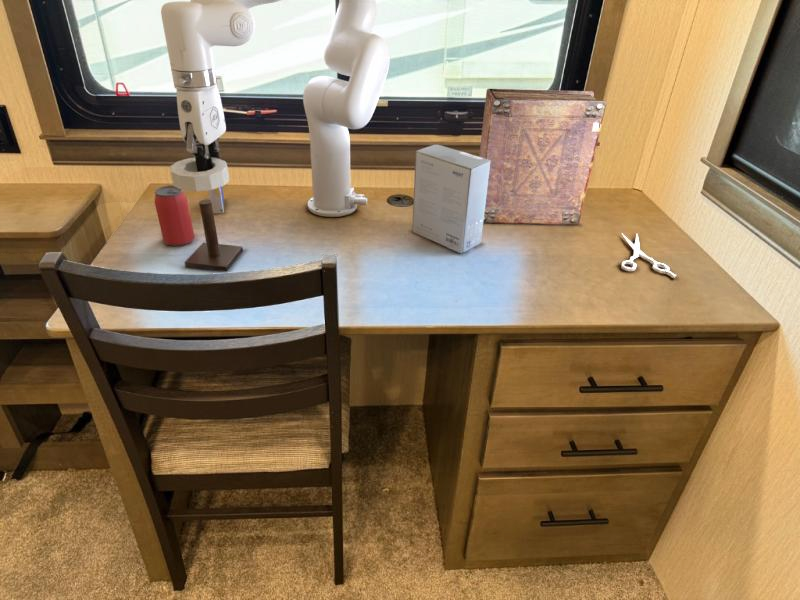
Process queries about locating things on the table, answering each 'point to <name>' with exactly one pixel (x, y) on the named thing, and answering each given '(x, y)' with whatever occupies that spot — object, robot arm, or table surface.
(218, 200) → the walkman
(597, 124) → the book
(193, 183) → the tape roll
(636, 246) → the scissors
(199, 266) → the spindle
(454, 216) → the hard drive box
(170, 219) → the beer can
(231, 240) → the table surface
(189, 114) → the robot arm
